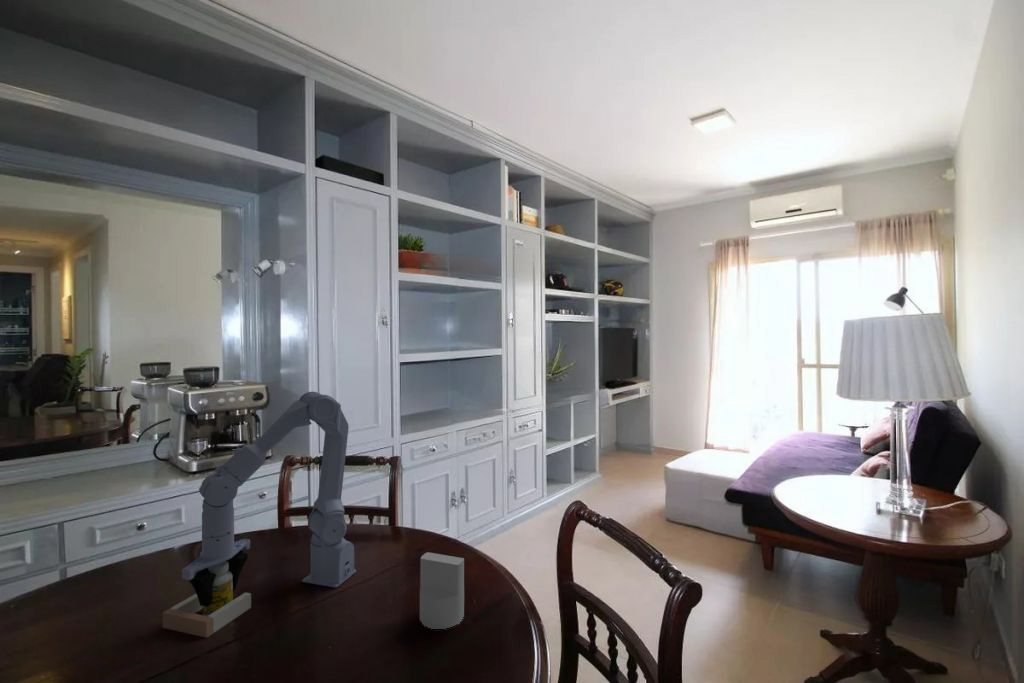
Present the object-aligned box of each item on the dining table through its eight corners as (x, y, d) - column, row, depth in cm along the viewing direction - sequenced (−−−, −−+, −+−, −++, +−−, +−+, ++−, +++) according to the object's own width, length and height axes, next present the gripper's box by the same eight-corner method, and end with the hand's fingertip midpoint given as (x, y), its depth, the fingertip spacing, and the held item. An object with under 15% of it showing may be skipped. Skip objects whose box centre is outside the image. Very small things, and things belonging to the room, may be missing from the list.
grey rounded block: (471, 609, 100) (471, 552, 100) (452, 634, 91) (452, 572, 91) (433, 601, 103) (433, 546, 103) (411, 624, 94) (411, 564, 94)
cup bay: (251, 607, 100) (251, 593, 100) (206, 637, 90) (206, 622, 90) (210, 599, 103) (210, 585, 103) (162, 627, 93) (162, 612, 93)
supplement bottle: (233, 601, 102) (232, 556, 102) (232, 613, 98) (232, 567, 98) (203, 608, 100) (203, 562, 100) (201, 621, 95) (201, 573, 95)
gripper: (232, 517, 107) (232, 577, 107) (169, 544, 93) (170, 613, 93) (257, 520, 105) (257, 582, 105) (197, 549, 91) (198, 619, 91)
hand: (218, 597), depth 99 cm, fingers open, 5 cm apart
